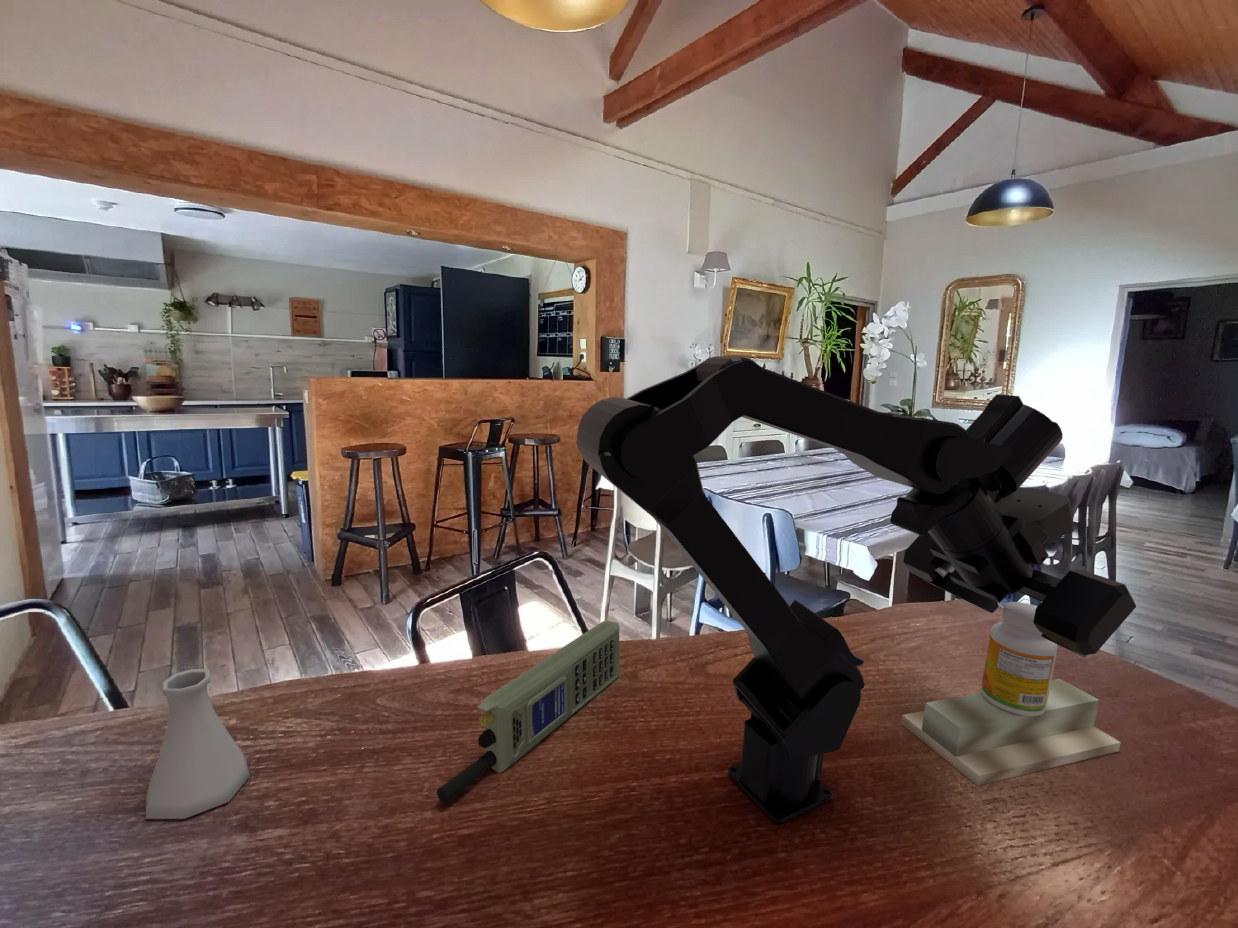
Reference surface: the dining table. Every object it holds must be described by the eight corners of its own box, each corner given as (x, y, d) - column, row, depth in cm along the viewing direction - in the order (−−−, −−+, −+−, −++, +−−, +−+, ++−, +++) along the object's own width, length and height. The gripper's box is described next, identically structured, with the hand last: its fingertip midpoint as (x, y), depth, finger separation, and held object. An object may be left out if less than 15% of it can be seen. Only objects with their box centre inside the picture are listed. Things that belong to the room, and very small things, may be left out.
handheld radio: (624, 678, 66) (456, 820, 45) (600, 670, 68) (428, 803, 47) (624, 624, 65) (452, 744, 44) (600, 617, 67) (424, 729, 46)
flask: (163, 768, 50) (149, 662, 48) (260, 751, 52) (250, 649, 50) (126, 833, 43) (108, 714, 41) (239, 810, 45) (226, 696, 44)
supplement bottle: (990, 679, 61) (1005, 593, 59) (1052, 704, 57) (1070, 612, 55) (972, 697, 57) (987, 607, 56) (1035, 725, 53) (1054, 628, 52)
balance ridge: (977, 785, 51) (984, 745, 50) (901, 723, 59) (906, 688, 59) (1118, 751, 56) (1126, 714, 56) (1030, 698, 65) (1036, 666, 64)
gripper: (1146, 486, 43) (1208, 610, 48) (940, 445, 60) (1002, 540, 65) (1049, 595, 42) (1123, 709, 47) (869, 522, 59) (938, 611, 65)
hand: (1037, 629), depth 56 cm, fingers open, 9 cm apart
